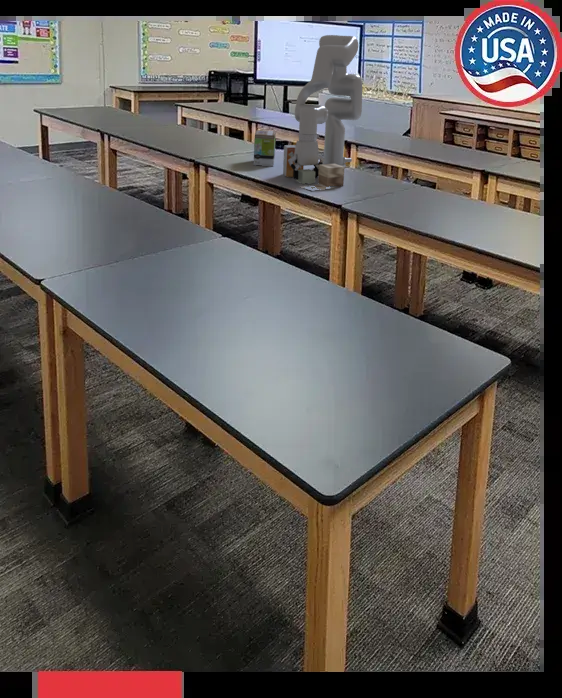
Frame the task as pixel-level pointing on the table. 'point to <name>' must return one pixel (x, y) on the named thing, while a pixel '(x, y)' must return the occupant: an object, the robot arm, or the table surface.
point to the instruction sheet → (317, 187)
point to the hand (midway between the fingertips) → (305, 178)
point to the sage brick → (306, 176)
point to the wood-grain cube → (331, 175)
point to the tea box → (264, 148)
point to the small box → (288, 154)
